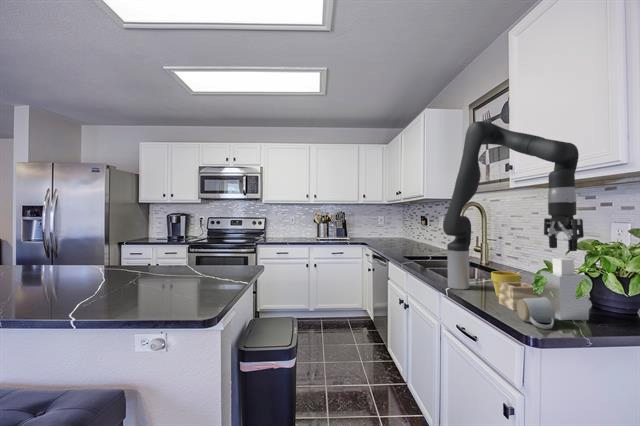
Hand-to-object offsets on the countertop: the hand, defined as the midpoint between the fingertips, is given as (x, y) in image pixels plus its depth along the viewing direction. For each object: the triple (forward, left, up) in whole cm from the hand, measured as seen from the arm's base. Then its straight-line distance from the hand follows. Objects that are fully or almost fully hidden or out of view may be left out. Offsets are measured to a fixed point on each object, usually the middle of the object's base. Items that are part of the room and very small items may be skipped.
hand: (562, 249), depth 105 cm
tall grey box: (0, 0, -22) cm, 22 cm away
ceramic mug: (+7, -13, -22) cm, 27 cm away
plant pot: (-23, -6, -22) cm, 33 cm away
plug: (0, 0, -12) cm, 12 cm away
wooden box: (-10, -9, -22) cm, 26 cm away
